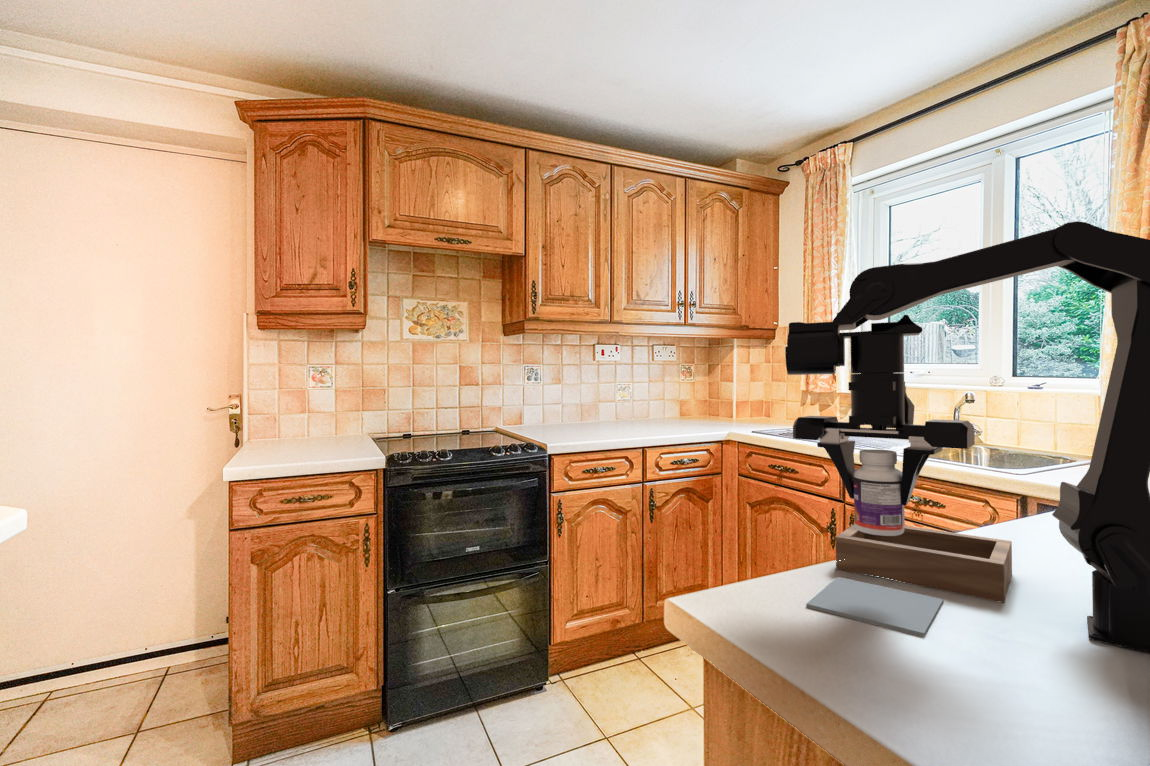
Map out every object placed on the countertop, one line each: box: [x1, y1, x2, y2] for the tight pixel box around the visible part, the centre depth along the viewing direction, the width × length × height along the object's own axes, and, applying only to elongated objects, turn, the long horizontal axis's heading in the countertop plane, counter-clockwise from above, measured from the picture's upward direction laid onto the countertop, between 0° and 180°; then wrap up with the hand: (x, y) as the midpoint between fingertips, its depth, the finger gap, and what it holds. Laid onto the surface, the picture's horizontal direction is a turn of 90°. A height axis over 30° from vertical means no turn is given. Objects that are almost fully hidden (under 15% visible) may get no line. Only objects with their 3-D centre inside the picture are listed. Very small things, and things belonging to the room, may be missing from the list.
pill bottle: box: [853, 449, 906, 536], centre depth 67 cm, size 5×5×10 cm
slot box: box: [835, 523, 1013, 603], centre depth 77 cm, size 13×19×5 cm
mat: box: [805, 576, 944, 638], centre depth 66 cm, size 12×12×1 cm
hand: (878, 501), depth 67 cm, fingers closed on pill bottle, 5 cm apart
